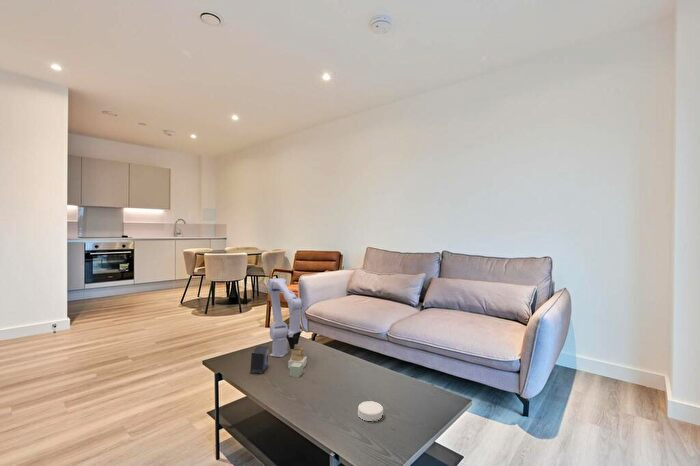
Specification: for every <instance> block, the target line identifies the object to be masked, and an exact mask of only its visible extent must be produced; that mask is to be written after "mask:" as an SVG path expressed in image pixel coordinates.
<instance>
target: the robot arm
mask: <svg viewBox="0 0 700 466" xmlns="http://www.w3.org/2000/svg"><path fill="white" fill-rule="evenodd" d="M266 288H267V293H268V294H269V295H270V303H271V310H272V316H273V323H272V324H271V325H270V327H269V337H270V339H271V340H272V348H271V349H272V352H271V353H269V354H268V357H269V356H270V357H276V358H283V357H284V356H285V355H287V354H288V353H289V350H293V349H294V348H295V345H298V344H299V342H300V341H299V340H300V337H301V334H302V332H303V329H301V313H302V312H301V310H302V309H303V307H304V302H303V299H302V298H300V297H298V296H297V295H296V294H295V292H294V291H293V290H290V289H289V287H288V286H287V280H286V278H285V277H278V278H271V277H270V278H269V279H268V280H267V282H266ZM281 293H282V295H283V298H284V300H285V302H287V306H288V313H289V322H288V323H289V326H288V324H287V323H286V322H285V321H283V320H284V319H283V314H282V307H281V300H280V294H281ZM288 347H289V350H288Z"/></svg>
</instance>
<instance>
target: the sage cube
mask: <svg viewBox="0 0 700 466" xmlns="http://www.w3.org/2000/svg"><path fill="white" fill-rule="evenodd" d="M303 373H304V369H303V363H296V362H294V363H293V364H292V365H291V366H290V368H289V377H293V378H294V377H295V378H300V377H301V376H302V375H303Z"/></svg>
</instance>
